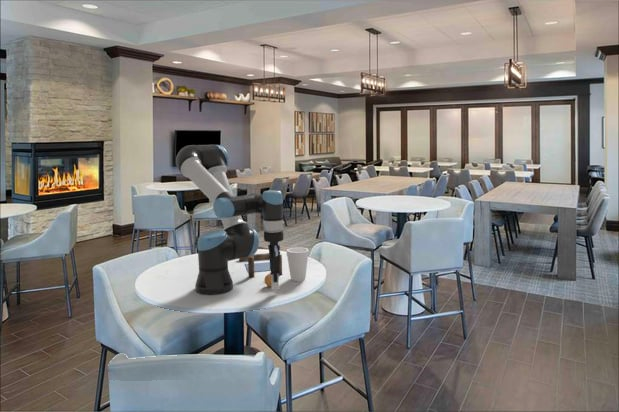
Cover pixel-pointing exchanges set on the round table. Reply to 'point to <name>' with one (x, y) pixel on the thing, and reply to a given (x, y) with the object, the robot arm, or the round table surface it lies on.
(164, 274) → the round table surface
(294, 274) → the foam cup
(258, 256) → the bar
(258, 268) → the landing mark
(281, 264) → the post right
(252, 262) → the post left
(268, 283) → the ball
